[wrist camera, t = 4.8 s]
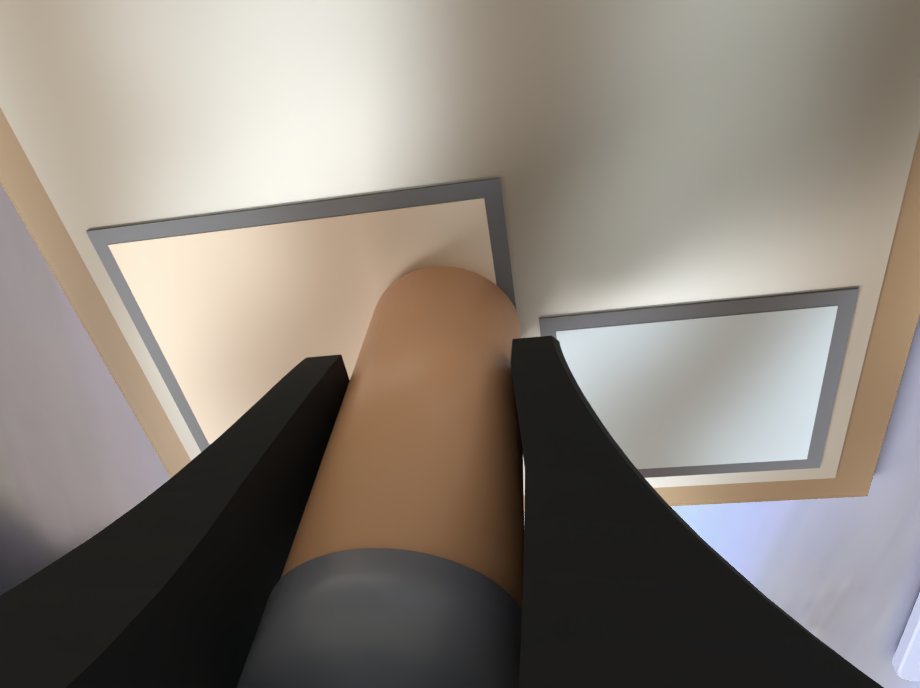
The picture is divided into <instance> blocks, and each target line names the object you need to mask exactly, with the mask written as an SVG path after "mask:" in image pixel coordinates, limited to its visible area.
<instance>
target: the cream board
mask: <svg viewBox="0 0 920 688" xmlns="http://www.w3.org/2000/svg"><path fill="white" fill-rule="evenodd" d="M0 182H1V184H2V186H3V187H4V189H5V191H6V193H7V194H8V196H9V198H10V200H11V201H12V203H13V205H14V207H15V208H16V210H17V212H18V213H19V215H20V217H21V219H22V220H23V222H24V224H25V226H26V227H27V229H28V231H29V233H30V234H31V236H32V238H33V240H34V241H35V243H36V245H37V246H38V248H39V250H40V252H41V253H42V255H43V257H44V259H45V260H46V262H47V264H48V266H49V267H50V269H51V271H52V272H53V274H54V276H55V278H56V279H57V281H58V283H59V285H60V286H61V288H62V290H63V292H64V293H65V295H66V297H67V298H68V300H69V302H70V304H71V305H72V307H73V309H74V311H75V312H76V314H77V316H78V318H79V319H80V321H81V323H82V324H83V326H84V328H85V330H86V331H87V333H88V335H89V337H90V338H91V340H92V342H93V344H94V345H95V347H96V349H97V350H98V352H99V354H100V356H101V357H102V359H103V361H104V363H105V364H106V366H107V368H108V370H109V371H110V373H111V375H112V376H113V378H114V380H115V382H116V383H117V385H118V387H119V389H120V390H121V392H122V394H123V396H124V397H125V399H126V401H127V402H128V404H129V406H130V408H131V409H132V411H133V413H134V415H135V416H136V418H137V420H138V422H139V423H140V425H141V427H142V428H143V430H144V432H145V434H146V435H147V437H148V439H149V441H150V442H151V444H152V446H153V448H154V449H155V451H156V453H157V454H158V456H159V458H160V460H161V461H162V463H163V465H164V467H165V468H166V470H167V472H168V474H169V475H170V477H171V478H172V477H173V476H174V475H175V474H177V473H178V472H179V471H180V470H181V469H182V468H184V467H185V466H186V465H187V464H188V463H189V462H191V461H192V460H193V459H194V458H195V457H196V456H198V455H199V454H200V453H201V452H202V451H203V450H205V449H206V448H207V447H208V446H209V445H210V444H212V443H213V442H214V441H215V440H216V439H217V438H219V437H220V436H221V435H222V434H223V433H224V432H225V431H226V430H227V429H228V428H229V427H231V426H232V425H233V424H234V423H235V422H236V421H237V420H238V419H239V418H240V417H241V416H242V415H244V414H245V413H246V412H247V411H248V410H249V409H250V408H251V407H252V406H253V405H254V404H255V403H256V402H258V401H259V400H260V399H261V398H262V397H263V396H264V395H265V394H266V393H267V392H268V391H269V390H270V389H271V388H272V387H273V386H274V385H276V384H277V383H278V382H279V381H280V380H281V379H282V378H283V377H284V376H285V375H286V374H287V373H289V372H290V371H291V370H292V369H293V368H294V367H295V366H296V365H298V364H299V363H300V362H301V361H303V360H304V359H305V358H306V357H318V356H329V355H340V354H341V355H342V358H343V361H344V364H345V367H346V371H347V374H348V377H349V380H350V378H351V376H352V373H353V370H354V367H355V364H356V361H357V358H358V356H359V353H360V350H361V347H362V344H363V341H364V338H365V336H366V333H367V330H368V327H369V324H370V321H371V318H372V316H373V313H374V310H375V307H376V305H377V303H378V301H379V299H380V297H381V296H382V294H383V293H384V292H385V290H386V289H387V288H388V287H389V286H390V285H391V284H393V283H394V282H395V281H396V280H398V279H399V278H401V277H403V276H404V275H406V274H409V273H411V272H413V271H416V270H420V269H423V268H429V267H441V266H445V267H456V268H461V269H465V270H468V271H472V272H475V273H477V274H479V275H481V276H483V277H485V278H487V279H488V280H490V281H492V282H493V283H494V284H495V285H497V286H498V287H499V288H500V289H501V290H502V291H503V292H504V293H505V294H506V295H507V296H508V298H509V299H510V300H511V302H512V304H513V305H514V307H515V309H516V311H517V314H518V317H519V321H520V326H521V338H529V337H540V336H551V335H552V336H553V337H554V338H556V339H557V340H558V341H559V342H560V346H561V349H562V352H563V355H564V357H565V360H566V362H567V364H568V366H569V368H570V371H571V372H572V374H573V376H574V378H575V380H576V382H577V384H578V385H579V387H580V389H581V391H582V392H583V394H584V396H585V397H586V399H587V400H588V402H589V403H590V405H591V406H592V408H593V410H594V411H595V413H596V414H597V416H598V417H599V419H600V420H601V422H602V423H603V425H604V426H605V428H606V429H607V430H608V432H609V433H610V435H611V436H612V437H613V439H614V440H615V441H616V443H617V444H618V445H619V447H620V448H621V449H622V450H623V452H624V453H625V454H626V456H627V457H628V458H629V460H630V461H631V462H632V463H633V465H634V466H635V467H636V468H637V469H638V471H639V472H640V473H641V474H642V475H643V477H644V478H645V479H646V480H647V481H648V482H649V484H650V485H651V486H652V487H653V488H654V489H655V490H656V491H657V493H658V494H659V495H660V496H661V497H662V498H663V499H664V500H665V501H666V502H667V504H668V505H669V506H680V505H700V504H720V503H740V502H760V501H780V500H800V499H820V498H840V497H860V496H868V492H869V489H870V485H871V482H872V479H873V475H874V472H875V468H876V465H877V461H878V458H879V454H880V451H881V447H882V444H883V440H884V437H885V433H886V430H887V426H888V423H889V420H890V416H891V413H892V409H893V406H894V402H895V399H896V395H897V392H898V388H899V385H900V381H901V378H902V374H903V371H904V368H905V364H906V361H907V357H908V354H909V350H910V347H911V343H912V340H913V336H914V333H915V329H916V326H917V322H918V319H919V316H920V0H0ZM523 492H524V513H525V466H524V458H523Z"/></svg>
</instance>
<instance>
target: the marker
mask: <svg viewBox="0 0 920 688" xmlns="http://www.w3.org/2000/svg"><path fill="white" fill-rule="evenodd" d="M518 338H521V326H520V321H519V317H518V314H517V311H516V309H515V307H514V305H513V304H512V302H511V300H510V299H509V298H508V296H507V295H506V294H505V293H504V292H503V291H502V290H501V289H500V288H499V287H498V286H497V285H495V284H494V283H493V282H492V281H490V280H488V279H487V278H485V277H483V276H481V275H479V274H477V273H475V272H472V271H468V270H465V269H461V268H456V267H445V266H441V267H429V268H423V269H420V270H416V271H413V272H411V273H409V274H406V275H404V276H403V277H401V278H399V279H398V280H396V281H395V282H394V283H393V284H391V285H390V286H389V287H388V288H387V289H386V290H385V292H384V293H383V294H382V296H381V297H380V299H379V301H378V303H377V305H376V307H375V310H374V313H373V316H372V318H371V321H370V324H369V327H368V330H367V333H366V336H365V338H364V341H363V344H362V347H361V350H360V353H359V356H358V358H357V361H356V364H355V367H354V370H353V373H352V376H351V378H350V381H349V384H348V387H347V390H346V393H345V396H344V398H343V401H342V404H341V407H340V410H339V413H338V416H337V418H336V421H335V424H334V427H333V430H332V433H331V436H330V438H329V441H328V444H327V447H326V450H325V453H324V456H323V458H322V461H321V464H320V467H319V470H318V473H317V476H316V478H315V481H314V484H313V487H312V490H311V493H310V496H309V498H308V501H307V504H306V507H305V510H304V513H303V516H302V518H301V521H300V524H299V527H298V530H297V533H296V536H295V538H294V541H293V544H292V547H291V550H290V553H289V556H288V559H287V561H286V564H285V567H284V570H283V573H282V576H281V579H280V580H279V582H278V583H277V584H276V585H275V587H274V588H273V590H272V592H271V594H270V596H269V598H268V601H267V604H266V607H265V610H264V612H263V615H262V618H261V621H260V624H259V626H258V629H257V632H256V635H255V638H254V640H253V643H252V646H251V649H250V652H249V654H248V657H247V660H246V663H245V666H244V668H243V671H242V674H241V677H240V680H239V682H238V685H237V688H518V687H519V668H520V650H521V625H522V598H523V567H524V492H523V450H522V443H521V436H520V429H519V422H518V415H517V407H516V400H515V393H514V385H513V378H512V371H511V364H510V363H511V349H512V341H513V339H518Z"/></svg>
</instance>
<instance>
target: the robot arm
mask: <svg viewBox="0 0 920 688" xmlns="http://www.w3.org/2000/svg"><path fill="white" fill-rule="evenodd" d="M510 364H511V371H512V378H513V385H514V393H515V400H516V407H517V415H518V422H519V429H520V436H521V443H522V450H523V458H524V466H525V522H524V567H523V598H522V625H521V650H520V668H519V687H518V688H883V687H882V686H881V685H879V684H878V683H876V682H875V681H874V680H872V679H871V678H870V677H868V676H867V675H865V674H864V673H863V672H861V671H860V670H859V669H857V668H856V667H855V666H853V665H852V664H851V663H849V662H848V661H847V660H845V659H844V658H843V657H841V656H840V655H839V654H838V653H836V652H835V651H834V650H832V649H831V648H830V647H828V646H827V645H826V644H824V643H823V642H822V641H820V640H819V639H818V638H816V637H815V636H814V635H813V634H811V633H810V632H809V631H808V630H807V629H805V628H804V627H803V626H802V625H800V624H799V623H798V622H797V621H795V620H794V619H793V618H792V617H791V616H789V615H788V614H787V613H786V612H784V611H783V610H782V609H781V608H779V607H778V606H777V605H776V604H775V603H773V602H772V601H771V600H770V599H768V598H767V597H766V596H765V595H764V594H762V593H761V592H760V591H759V590H758V589H757V588H756V587H755V586H754V585H753V584H751V583H750V582H749V581H748V580H747V579H746V578H745V577H744V576H743V575H741V574H740V573H739V572H738V571H737V570H736V569H735V568H734V567H733V566H731V565H730V564H729V563H728V562H727V561H726V560H725V559H724V558H723V557H721V556H720V555H719V554H718V553H717V552H716V551H715V550H714V549H713V548H711V547H710V546H709V545H708V544H707V543H706V542H705V541H704V540H703V539H702V538H701V537H700V536H699V535H698V534H697V533H696V532H695V531H694V530H693V529H692V528H691V527H690V526H689V525H688V524H687V523H686V522H685V521H684V520H683V519H682V518H681V517H680V516H679V515H678V514H677V513H676V512H675V511H674V510H673V509H672V508H671V507H670V506H669V505H668V504H667V502H666V501H665V500H664V499H663V498H662V497H661V496H660V495H659V494H658V493H657V491H656V490H655V489H654V488H653V487H652V486H651V485H650V484H649V482H648V481H647V480H646V479H645V478H644V477H643V475H642V474H641V473H640V472H639V471H638V469H637V468H636V467H635V466H634V465H633V463H632V462H631V461H630V460H629V458H628V457H627V456H626V454H625V453H624V452H623V450H622V449H621V448H620V447H619V445H618V444H617V443H616V441H615V440H614V439H613V437H612V436H611V435H610V433H609V432H608V430H607V429H606V428H605V426H604V425H603V423H602V422H601V420H600V419H599V417H598V416H597V414H596V413H595V411H594V410H593V408H592V406H591V405H590V403H589V402H588V400H587V399H586V397H585V396H584V394H583V392H582V391H581V389H580V387H579V385H578V384H577V382H576V380H575V378H574V376H573V374H572V372H571V371H570V368H569V366H568V364H567V362H566V360H565V357H564V355H563V352H562V349H561V346H560V342H559V341H558V340H557V339H556V338H554V337H553V336H552V335H551V336H540V337H529V338H518V339H513V341H512V349H511V363H510ZM349 381H350V380H349V377H348V374H347V371H346V367H345V364H344V361H343V358H342V355H341V354H340V355H329V356H318V357H306V358H305V359H304V360H303V361H301V362H300V363H299V364H298V365H296V366H295V367H294V368H293V369H292V370H291V371H290V372H289V373H287V374H286V375H285V376H284V377H283V378H282V379H281V380H280V381H279V382H278V383H277V384H276V385H274V386H273V387H272V388H271V389H270V390H269V391H268V392H267V393H266V394H265V395H264V396H263V397H262V398H261V399H260V400H259V401H258V402H256V403H255V404H254V405H253V406H252V407H251V408H250V409H249V410H248V411H247V412H246V413H245V414H244V415H242V416H241V417H240V418H239V419H238V420H237V421H236V422H235V423H234V424H233V425H232V426H231V427H229V428H228V429H227V430H226V431H225V432H224V433H223V434H222V435H221V436H220V437H219V438H217V439H216V440H215V441H214V442H213V443H212V444H210V445H209V446H208V447H207V448H206V449H205V450H203V451H202V452H201V453H200V454H199V455H198V456H196V457H195V458H194V459H193V460H192V461H191V462H189V463H188V464H187V465H186V466H185V467H184V468H182V469H181V470H180V471H179V472H178V473H177V474H175V475H174V476H173V477H172V478H171V479H170V480H168V481H167V482H166V483H165V484H163V485H162V486H161V487H160V488H158V489H157V490H156V491H155V492H153V493H152V494H151V495H149V496H148V497H147V498H146V499H144V500H143V501H142V502H140V503H139V504H138V505H136V506H135V507H134V508H132V509H131V510H130V511H128V512H127V513H125V514H124V515H123V516H121V517H120V518H119V519H117V520H116V521H114V522H113V523H112V524H110V525H109V526H108V527H106V528H105V529H103V530H102V531H101V532H99V533H98V534H96V535H95V536H93V537H92V538H90V539H89V540H88V541H86V542H84V543H83V544H81V545H80V546H78V547H77V548H75V549H74V550H72V551H71V552H69V553H67V554H66V555H64V556H63V557H61V558H60V559H58V560H57V561H55V562H53V563H52V564H50V565H49V566H47V567H46V568H44V569H43V570H41V571H39V572H38V573H36V574H35V575H33V576H32V577H30V578H29V579H27V580H25V581H24V582H22V583H21V584H19V585H18V586H16V587H14V588H13V589H11V590H9V591H8V592H6V593H4V594H3V595H1V596H0V688H237V685H238V682H239V680H240V677H241V674H242V671H243V668H244V666H245V663H246V660H247V657H248V654H249V652H250V649H251V646H252V643H253V640H254V638H255V635H256V632H257V629H258V626H259V624H260V621H261V618H262V615H263V612H264V610H265V607H266V604H267V601H268V598H269V596H270V594H271V592H272V590H273V588H274V587H275V585H276V584H277V583H278V582H279V580H280V579H281V576H282V573H283V570H284V567H285V564H286V561H287V559H288V556H289V553H290V550H291V547H292V544H293V541H294V538H295V536H296V533H297V530H298V527H299V524H300V521H301V518H302V516H303V513H304V510H305V507H306V504H307V501H308V498H309V496H310V493H311V490H312V487H313V484H314V481H315V478H316V476H317V473H318V470H319V467H320V464H321V461H322V458H323V456H324V453H325V450H326V447H327V444H328V441H329V438H330V436H331V433H332V430H333V427H334V424H335V421H336V418H337V416H338V413H339V410H340V407H341V404H342V401H343V398H344V396H345V393H346V390H347V387H348V384H349ZM892 664H893V666H894V668H895V670H896V672H897V674H898V676H899V677H900V678H903V679H905V680H908V681H920V593H919V595H918V598H917V600H916V603H915V605H914V608H913V610H912V613H911V615H910V618H909V620H908V623H907V625H906V628H905V630H904V633H903V635H902V638H901V640H900V643H899V645H898V648H897V650H896V652H895V655H894V657H893V660H892Z"/></svg>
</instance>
